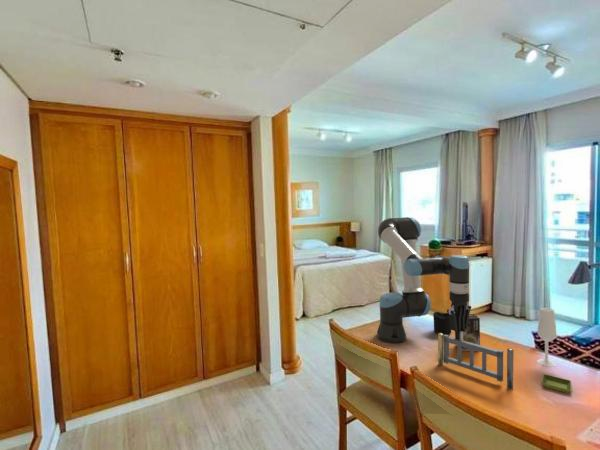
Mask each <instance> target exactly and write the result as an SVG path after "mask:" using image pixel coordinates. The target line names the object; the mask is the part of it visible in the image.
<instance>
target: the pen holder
mask: <svg viewBox="0 0 600 450" xmlns="http://www.w3.org/2000/svg"><path fill="white" fill-rule="evenodd" d="M432 315H433V316H432V317H433V332H434V333H436V334H438V333H442V334H443V336H444V335H445V334H446V335H449V336H450V335H451V333H452V330H451V325H450V320H449V315H448V313H447V312H443V313H442V312H439V311H435V312H433V313H432Z"/></svg>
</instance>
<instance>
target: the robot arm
mask: <svg viewBox="0 0 600 450" xmlns="http://www.w3.org/2000/svg"><path fill="white" fill-rule="evenodd" d="M377 234H378V237H379V239H380V240H381V241H382V242H383V243H385V244H387V245H388V246H389V248H390V249H392V251H393V252H394V254H396V255H397V256H398V258H399V259H400V261H401V269H402V271H401V272H402V277H403V278H402V279H403V287H404V288H403V289H402V291H401V292H396V291H395V292H386V293H384V294H382V295H381V296H380V297H379V326H378V328H377V331H376V338H377V339H378V340H380V341H382V342H384V343H387V344H388V343H389V344H399V343H403V342H406V341H407V332H406V330H405V327H404V323H403V321H404V320H403V319H404V318H414V317H423V316H427V315H428V314H429V312H430V310H431V308H432V307H431V305H432V301H431V299H430V295H429V294H427V293H426V292H425V290H424V289H423V288H422V286H421V285H422V284H421V276H429V275H430V276H431V275H432V276H433V275H447V276H448V277H449V278H448V279H449V288H448V289H449V301H450V302H451V303H450V309H446V313H448V315H449V320H450V325H451V331H453V332H454V338H456V339H459V340H463V337H464V331H465V332H466V330H465V328H466V329H467V327H468V320H469V314H471V310H472V306H471V305H469V304H468V303H469V301H470V293H469V292H470V263H469V261H470V260H469V257H468V256H467V255H463V254H462V255H461V254H452V255H450V256H449V257H447V256H444V255H436V256H434V257H425V258H423V257H422V256H421V255H419V253H417V245H416V244H417V242H418V241H419V240H418V238H420V236H421V234H422V228H421V224H420V222H419V221H418V220H417V219H416V218H415V217H405V216H404V217H388V218H385V219H384V220H382V221H381V223H380V224H379V226H378V228H377ZM457 346H458V345H457ZM457 346H456V347H457Z"/></svg>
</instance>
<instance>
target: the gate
mask: <svg viewBox="0 0 600 450" xmlns="http://www.w3.org/2000/svg"><path fill="white" fill-rule="evenodd" d="M450 344H452V345H455V346H456V345H458V347H457V359H456V358H454V357H450ZM462 347H465V348H468V349H470V351H469V362H466V361H463V360H462V358H463V351H462ZM474 350H475V351H474ZM475 352H479V353H481V366H477V365H475V358H474V357H475V354H474V353H475ZM487 355H490V356H493V357H496V371H493V370H490V369H487ZM444 363H445V364H452V365H456V366H458V367H460V368H463V369H467V370H469V371H472V372H476V373H479V374H481V375H485V376H488V377H490V378H494V379H496V381H497V382H501V383H502V382H503V381H504V350H503V349H500V348H499V349H494V348H493V347H487V346H484V345H481V344H480V345H477V344H474V343H470V342H467V341H463V340H459V339H456V338H455V337H452V336H450V334H449V335H446V334H445V335H443V364H444Z"/></svg>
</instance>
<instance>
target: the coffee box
mask: <svg viewBox="0 0 600 450" xmlns="http://www.w3.org/2000/svg"><path fill="white" fill-rule="evenodd" d="M480 322H481V321H480V318H479V317H478V316H477V315H476V313H469V320H468V327H467V329H466V328H465V330H466V332H465V331H464V337H463V341H467V342H470V343H474V344H477V345H481V334H480V333H481V330H480V329H481V325H480V324H481V323H480ZM455 346H456V347H457V348H458V346H457V345H455ZM462 352H470V349H468V348H465V347H462ZM474 352H476V351H475V350H474Z"/></svg>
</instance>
